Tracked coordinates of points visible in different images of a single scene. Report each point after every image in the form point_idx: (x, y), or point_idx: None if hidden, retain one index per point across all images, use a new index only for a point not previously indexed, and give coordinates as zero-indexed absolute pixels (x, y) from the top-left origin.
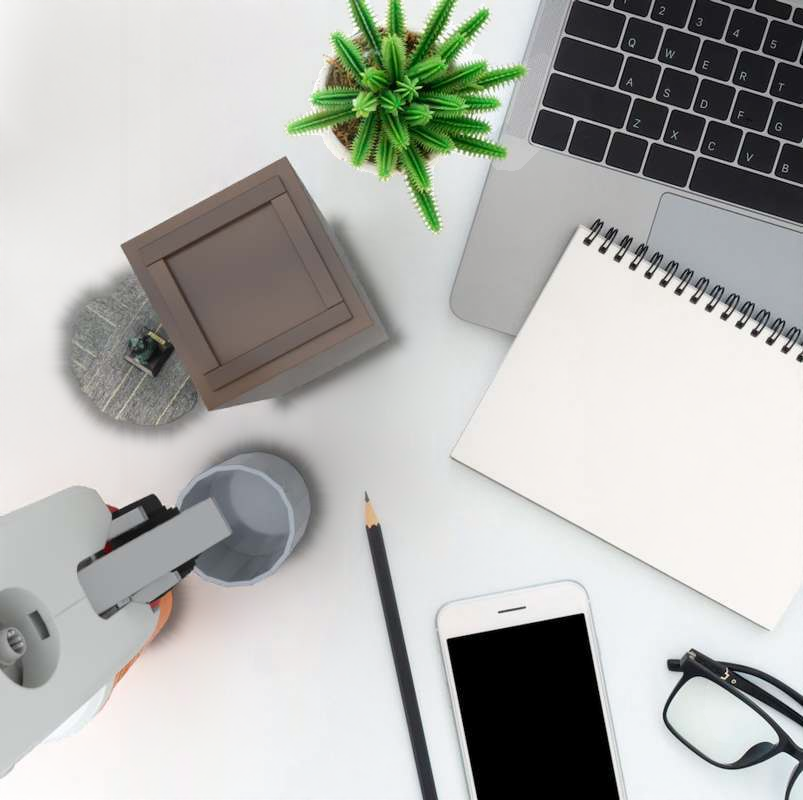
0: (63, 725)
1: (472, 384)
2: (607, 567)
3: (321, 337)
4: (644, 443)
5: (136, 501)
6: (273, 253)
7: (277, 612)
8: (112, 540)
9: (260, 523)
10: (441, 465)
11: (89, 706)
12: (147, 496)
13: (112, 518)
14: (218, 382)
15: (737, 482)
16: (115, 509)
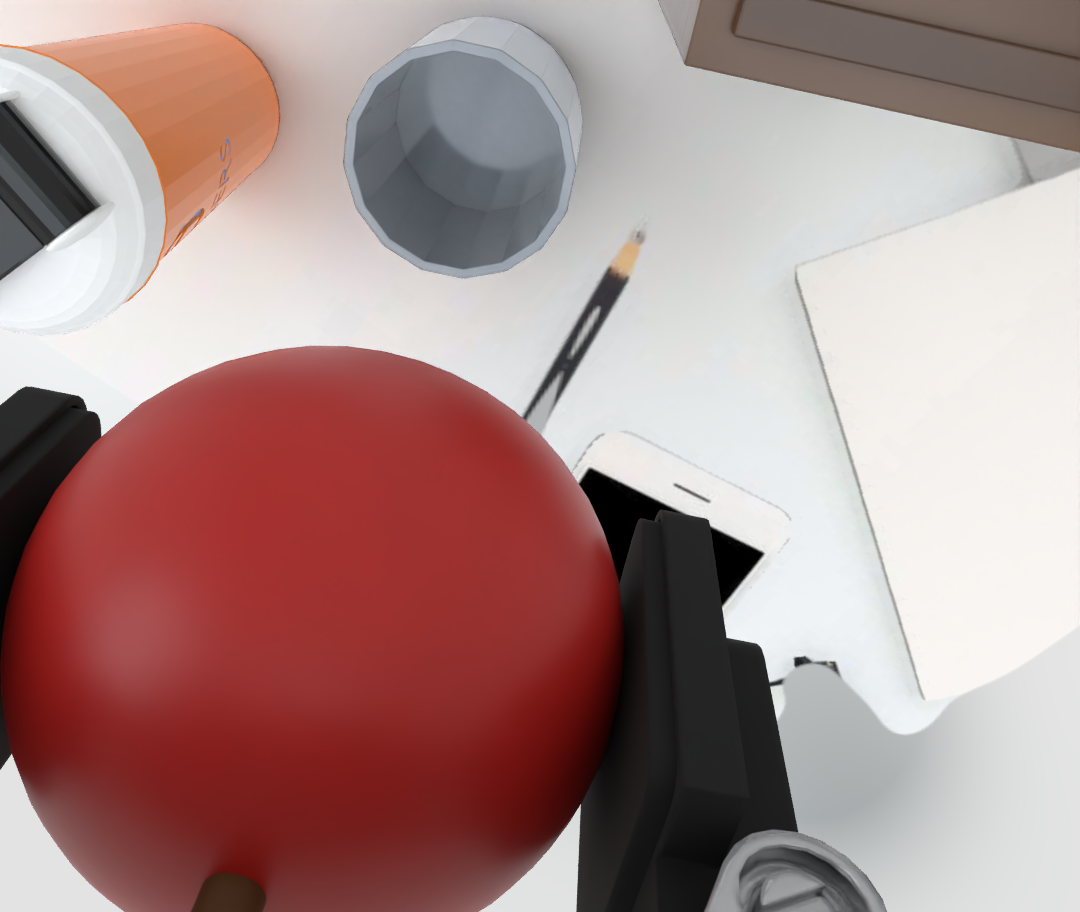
0: (13, 320)
1: (914, 199)
2: (837, 530)
3: (1020, 104)
4: (1022, 440)
5: (725, 632)
6: None
7: (404, 282)
8: (636, 838)
9: (472, 151)
10: (772, 270)
11: (74, 319)
12: (712, 554)
13: (712, 811)
14: (762, 27)
15: (1062, 555)
16: (598, 529)
